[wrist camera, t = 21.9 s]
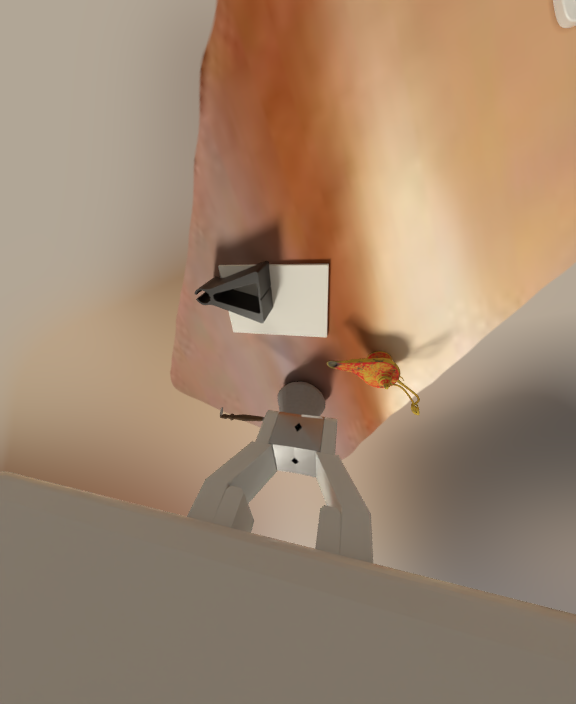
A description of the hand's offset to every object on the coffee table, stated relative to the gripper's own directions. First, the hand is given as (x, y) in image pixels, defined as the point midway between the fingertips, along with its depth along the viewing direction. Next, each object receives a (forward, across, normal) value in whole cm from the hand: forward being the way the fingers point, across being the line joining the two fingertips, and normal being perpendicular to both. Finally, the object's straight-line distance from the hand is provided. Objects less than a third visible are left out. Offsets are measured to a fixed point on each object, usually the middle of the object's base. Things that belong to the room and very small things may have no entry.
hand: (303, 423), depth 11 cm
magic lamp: (+35, -7, +22) cm, 42 cm away
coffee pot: (+35, +12, +32) cm, 49 cm away
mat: (+35, +12, +10) cm, 38 cm away
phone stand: (+31, +12, +7) cm, 34 cm away
